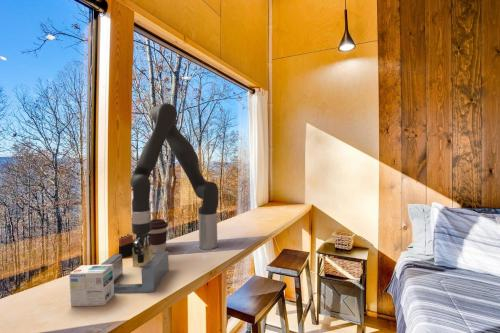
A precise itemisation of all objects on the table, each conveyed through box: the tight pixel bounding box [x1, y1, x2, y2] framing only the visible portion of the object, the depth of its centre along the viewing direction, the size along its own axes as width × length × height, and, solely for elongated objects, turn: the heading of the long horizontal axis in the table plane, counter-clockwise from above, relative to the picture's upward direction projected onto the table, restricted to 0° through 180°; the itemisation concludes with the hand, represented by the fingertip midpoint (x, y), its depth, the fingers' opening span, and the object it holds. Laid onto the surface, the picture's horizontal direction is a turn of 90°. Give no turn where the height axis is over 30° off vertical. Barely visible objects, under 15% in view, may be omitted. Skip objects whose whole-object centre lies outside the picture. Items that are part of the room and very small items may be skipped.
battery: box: [119, 234, 134, 258], centre depth 125 cm, size 4×7×10 cm, turn 152°
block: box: [131, 244, 154, 268], centre depth 114 cm, size 4×7×8 cm, turn 91°
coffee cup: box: [148, 218, 169, 254], centre depth 130 cm, size 10×10×15 cm
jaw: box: [100, 253, 124, 282], centre depth 99 cm, size 12×7×8 cm, turn 0°
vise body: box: [114, 250, 170, 294], centre depth 99 cm, size 17×26×8 cm, turn 90°
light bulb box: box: [69, 264, 115, 307], centre depth 86 cm, size 11×7×11 cm, turn 92°
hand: (142, 260), depth 114 cm, fingers closed on block, 4 cm apart
